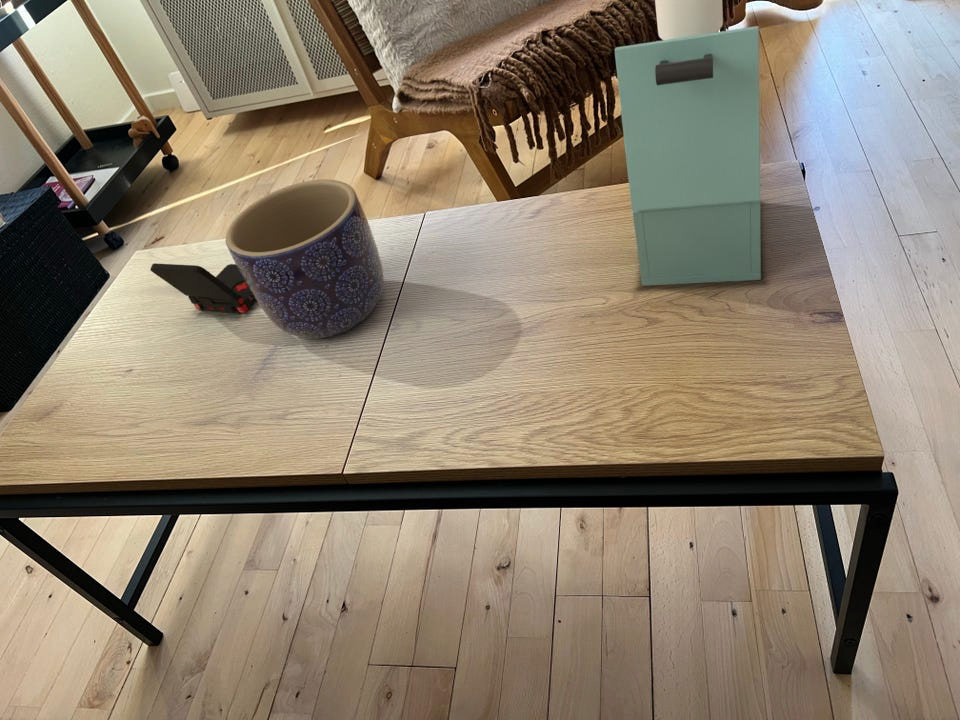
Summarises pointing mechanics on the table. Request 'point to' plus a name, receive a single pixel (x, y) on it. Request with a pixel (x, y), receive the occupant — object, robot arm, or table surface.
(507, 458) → the table surface
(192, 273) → the black phone stand
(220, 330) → the table surface
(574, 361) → the table surface
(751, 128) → the lid
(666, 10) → the can
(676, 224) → the teal open box
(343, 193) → the planter
